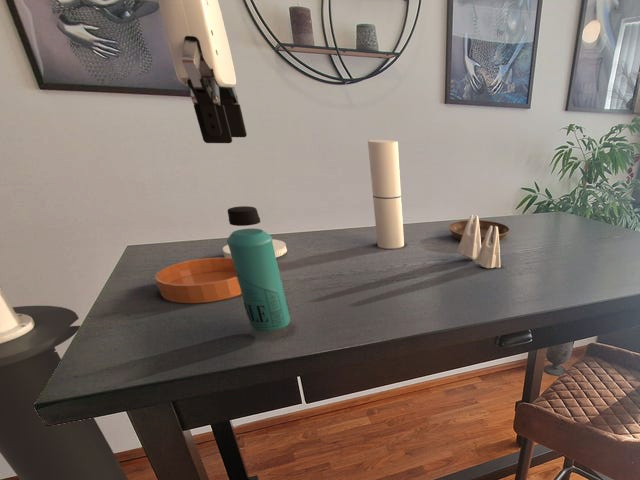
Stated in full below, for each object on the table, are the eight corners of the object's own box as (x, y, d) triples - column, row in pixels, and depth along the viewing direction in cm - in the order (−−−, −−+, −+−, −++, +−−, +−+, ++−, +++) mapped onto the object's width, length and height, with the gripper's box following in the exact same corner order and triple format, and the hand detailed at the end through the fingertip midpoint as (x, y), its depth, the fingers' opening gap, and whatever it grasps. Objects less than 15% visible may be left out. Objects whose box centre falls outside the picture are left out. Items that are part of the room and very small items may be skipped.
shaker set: (456, 258, 112) (456, 213, 106) (468, 255, 114) (468, 211, 108) (489, 270, 105) (491, 222, 99) (501, 267, 107) (504, 220, 101)
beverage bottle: (296, 322, 78) (270, 202, 67) (289, 339, 73) (260, 212, 62) (257, 324, 77) (224, 202, 66) (247, 341, 71) (209, 212, 61)
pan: (147, 306, 82) (140, 288, 80) (176, 275, 96) (170, 259, 94) (248, 299, 86) (243, 282, 84) (261, 271, 100) (257, 255, 98)
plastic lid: (295, 249, 114) (293, 239, 113) (275, 266, 103) (273, 255, 101) (240, 248, 114) (237, 238, 112) (214, 265, 102) (211, 254, 101)
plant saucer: (516, 245, 124) (517, 234, 123) (454, 247, 121) (454, 235, 119) (500, 229, 139) (501, 219, 137) (444, 230, 135) (444, 220, 133)
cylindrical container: (381, 249, 117) (371, 142, 103) (374, 242, 122) (364, 139, 108) (407, 247, 119) (401, 142, 106) (400, 240, 125) (393, 139, 111)
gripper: (171, -20, 56) (212, 135, 65) (112, -58, 42) (175, 145, 51) (235, -15, 58) (266, 135, 67) (199, -50, 44) (245, 145, 53)
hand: (227, 139), depth 59 cm, fingers open, 9 cm apart
